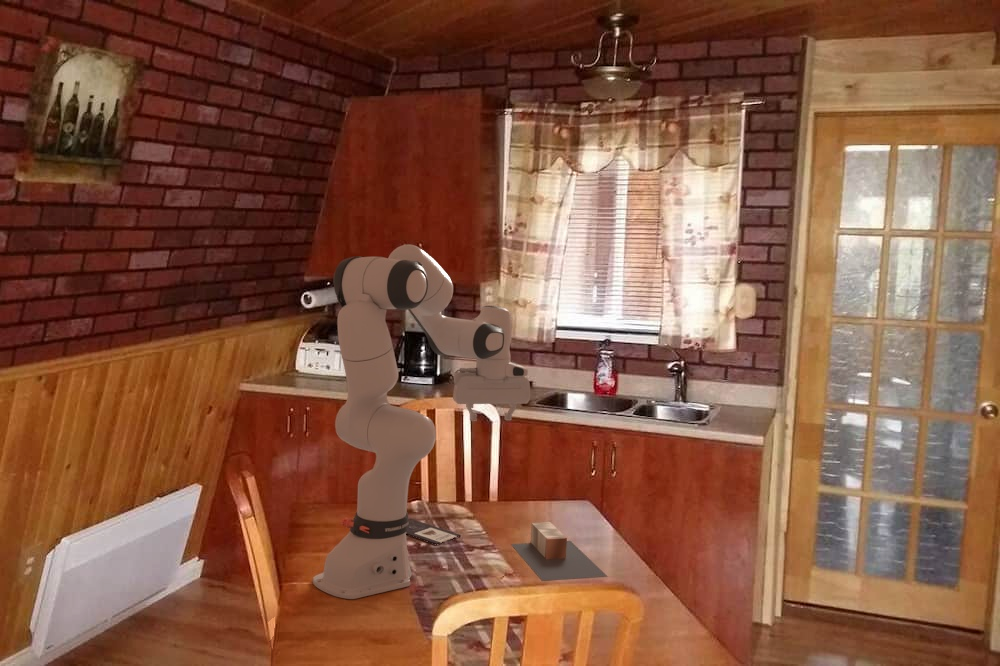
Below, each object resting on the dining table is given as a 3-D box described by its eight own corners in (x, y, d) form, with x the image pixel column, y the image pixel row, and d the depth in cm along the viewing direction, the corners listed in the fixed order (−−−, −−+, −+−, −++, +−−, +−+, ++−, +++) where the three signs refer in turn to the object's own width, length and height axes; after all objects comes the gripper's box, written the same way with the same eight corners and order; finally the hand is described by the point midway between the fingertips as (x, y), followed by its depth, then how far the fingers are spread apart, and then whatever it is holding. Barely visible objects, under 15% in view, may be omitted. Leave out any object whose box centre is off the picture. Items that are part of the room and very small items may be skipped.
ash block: (530, 542, 231) (546, 559, 219) (531, 523, 230) (547, 539, 219) (549, 541, 232) (565, 558, 221) (550, 522, 231) (567, 538, 220)
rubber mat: (607, 578, 210) (607, 576, 210) (542, 583, 206) (542, 580, 206) (570, 543, 233) (570, 540, 233) (510, 546, 229) (510, 544, 229)
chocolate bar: (410, 518, 245) (460, 534, 234) (409, 521, 245) (460, 538, 234) (385, 526, 238) (436, 543, 227) (385, 529, 238) (436, 547, 227)
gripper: (457, 369, 231) (454, 423, 232) (533, 369, 236) (530, 422, 238) (451, 365, 237) (449, 418, 238) (526, 366, 242) (523, 417, 244)
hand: (490, 420), depth 238 cm, fingers open, 8 cm apart
